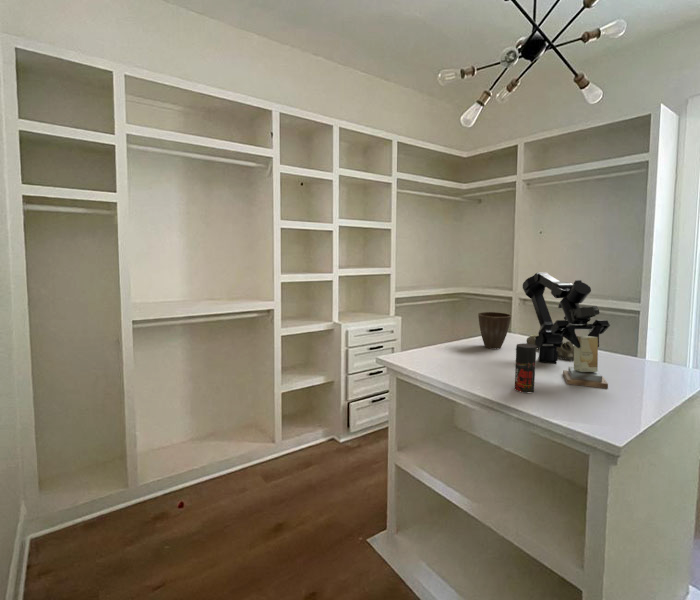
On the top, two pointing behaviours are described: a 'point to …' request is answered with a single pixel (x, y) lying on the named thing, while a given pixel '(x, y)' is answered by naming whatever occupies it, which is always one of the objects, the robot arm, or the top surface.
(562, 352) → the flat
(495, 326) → the plant pot
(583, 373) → the brown picture frame
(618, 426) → the top surface
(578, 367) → the skincare box
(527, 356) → the deodorant
